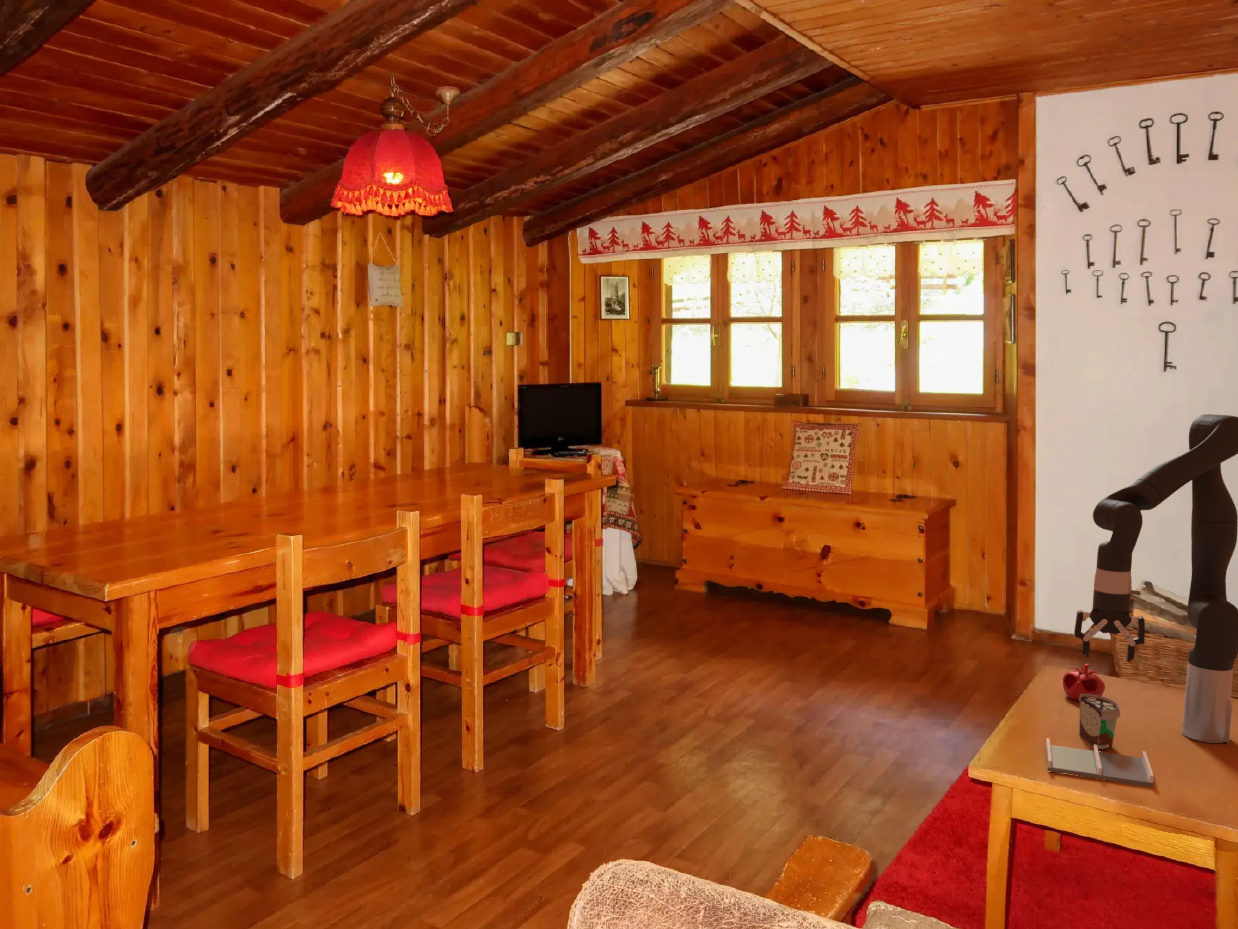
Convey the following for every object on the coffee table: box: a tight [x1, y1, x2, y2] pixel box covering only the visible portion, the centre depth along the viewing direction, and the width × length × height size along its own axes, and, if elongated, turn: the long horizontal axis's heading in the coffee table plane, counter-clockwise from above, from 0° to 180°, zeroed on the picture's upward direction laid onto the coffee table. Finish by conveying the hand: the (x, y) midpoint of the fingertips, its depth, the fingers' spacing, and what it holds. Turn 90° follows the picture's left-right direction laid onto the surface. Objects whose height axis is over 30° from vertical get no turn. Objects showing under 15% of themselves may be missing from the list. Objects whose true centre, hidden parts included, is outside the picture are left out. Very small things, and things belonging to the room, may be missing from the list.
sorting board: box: [1045, 737, 1155, 788], centre depth 222 cm, size 20×14×2 cm
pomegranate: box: [1062, 663, 1106, 701], centre depth 266 cm, size 10×10×9 cm
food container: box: [1078, 694, 1121, 752], centre depth 235 cm, size 12×6×10 cm, turn 179°
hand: (1107, 658), depth 233 cm, fingers open, 8 cm apart
